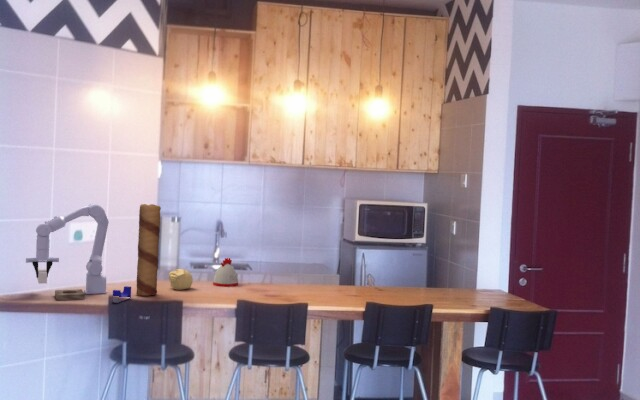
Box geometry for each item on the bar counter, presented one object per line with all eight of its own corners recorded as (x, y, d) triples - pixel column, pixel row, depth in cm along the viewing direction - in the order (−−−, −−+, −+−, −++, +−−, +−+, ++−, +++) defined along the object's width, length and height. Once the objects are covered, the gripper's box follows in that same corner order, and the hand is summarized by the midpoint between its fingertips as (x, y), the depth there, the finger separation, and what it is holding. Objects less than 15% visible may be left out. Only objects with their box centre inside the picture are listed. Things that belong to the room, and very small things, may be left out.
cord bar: (45, 278, 316) (45, 268, 316) (46, 283, 304) (47, 272, 304) (37, 278, 315) (37, 268, 315) (38, 283, 302) (38, 272, 302)
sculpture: (165, 288, 342) (165, 267, 341) (185, 286, 350) (186, 266, 349) (175, 291, 333) (176, 270, 333) (196, 289, 341) (196, 269, 341)
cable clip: (122, 298, 311) (122, 286, 311) (130, 299, 310) (131, 286, 310) (109, 302, 299) (109, 290, 299) (118, 303, 298) (118, 290, 298)
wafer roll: (149, 291, 329) (152, 203, 328) (161, 295, 322) (164, 205, 321) (131, 294, 321) (134, 203, 320) (143, 297, 314) (146, 205, 313)
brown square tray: (81, 294, 315) (81, 289, 315) (84, 299, 304) (84, 294, 304) (55, 295, 310) (55, 290, 310) (57, 300, 298) (57, 295, 298)
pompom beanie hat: (243, 284, 363) (244, 258, 362) (226, 287, 351) (227, 260, 350) (224, 281, 370) (225, 255, 370) (207, 284, 358) (208, 257, 358)
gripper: (58, 247, 316) (57, 275, 316) (25, 248, 309) (25, 276, 310) (59, 249, 309) (58, 277, 310) (26, 250, 303) (25, 278, 303)
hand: (42, 277), depth 309 cm, fingers closed on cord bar, 3 cm apart
